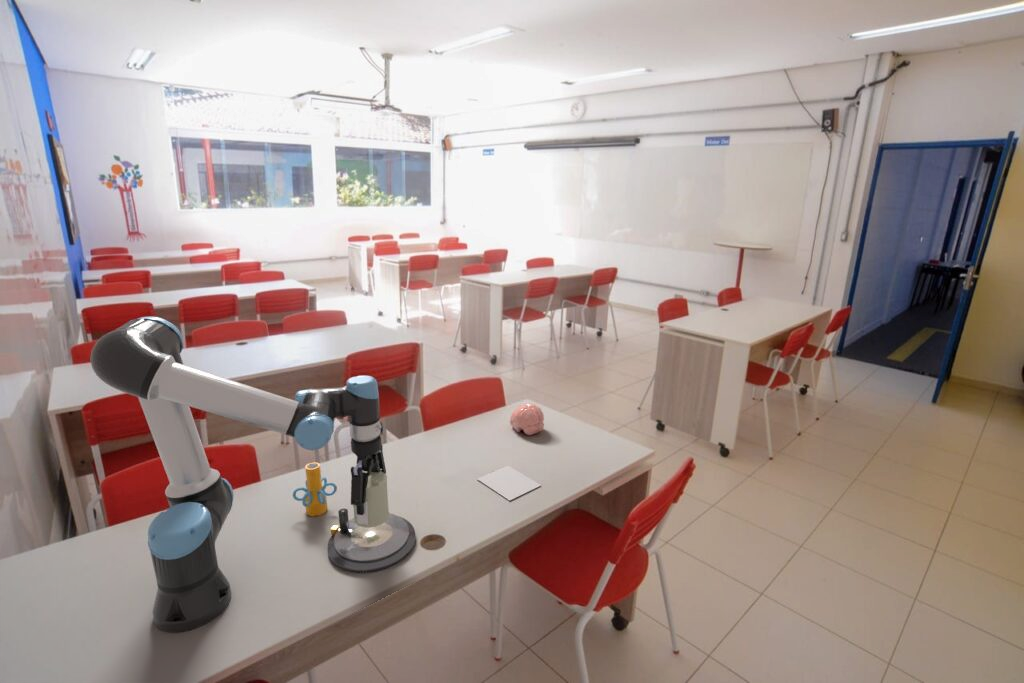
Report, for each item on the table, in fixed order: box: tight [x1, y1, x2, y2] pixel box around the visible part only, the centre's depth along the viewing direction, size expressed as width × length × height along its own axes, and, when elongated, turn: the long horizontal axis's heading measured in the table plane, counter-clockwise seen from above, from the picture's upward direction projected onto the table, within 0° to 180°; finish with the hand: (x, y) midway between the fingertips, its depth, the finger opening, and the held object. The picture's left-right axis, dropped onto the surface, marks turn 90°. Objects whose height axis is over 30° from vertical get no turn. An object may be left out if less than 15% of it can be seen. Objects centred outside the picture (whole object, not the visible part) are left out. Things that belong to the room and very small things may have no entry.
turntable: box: [334, 508, 409, 563], centre depth 138 cm, size 20×20×7 cm
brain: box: [509, 403, 545, 436], centre depth 209 cm, size 16×13×12 cm
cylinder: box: [292, 462, 338, 517], centre depth 152 cm, size 12×10×15 cm
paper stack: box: [476, 465, 542, 501], centre depth 171 cm, size 23×25×1 cm
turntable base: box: [327, 516, 416, 574], centre depth 139 cm, size 23×23×4 cm
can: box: [352, 471, 390, 527], centre depth 136 cm, size 9×9×12 cm
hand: (371, 512), depth 137 cm, fingers closed on can, 9 cm apart
